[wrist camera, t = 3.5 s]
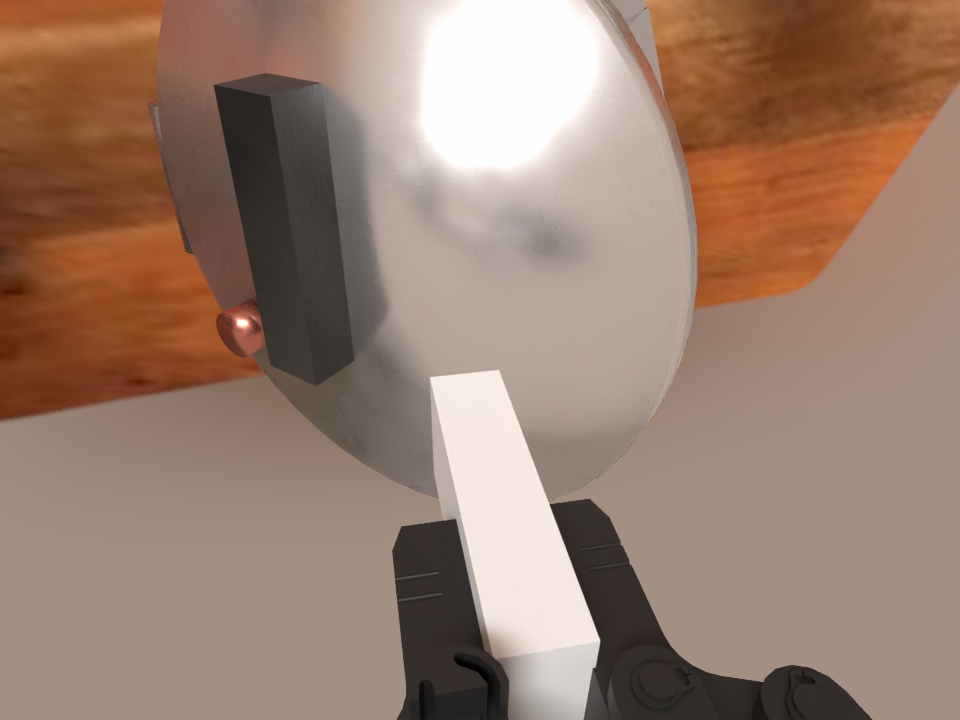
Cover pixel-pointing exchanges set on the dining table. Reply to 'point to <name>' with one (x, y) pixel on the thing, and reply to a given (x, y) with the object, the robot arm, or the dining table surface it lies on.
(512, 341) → the lid
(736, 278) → the dining table surface
